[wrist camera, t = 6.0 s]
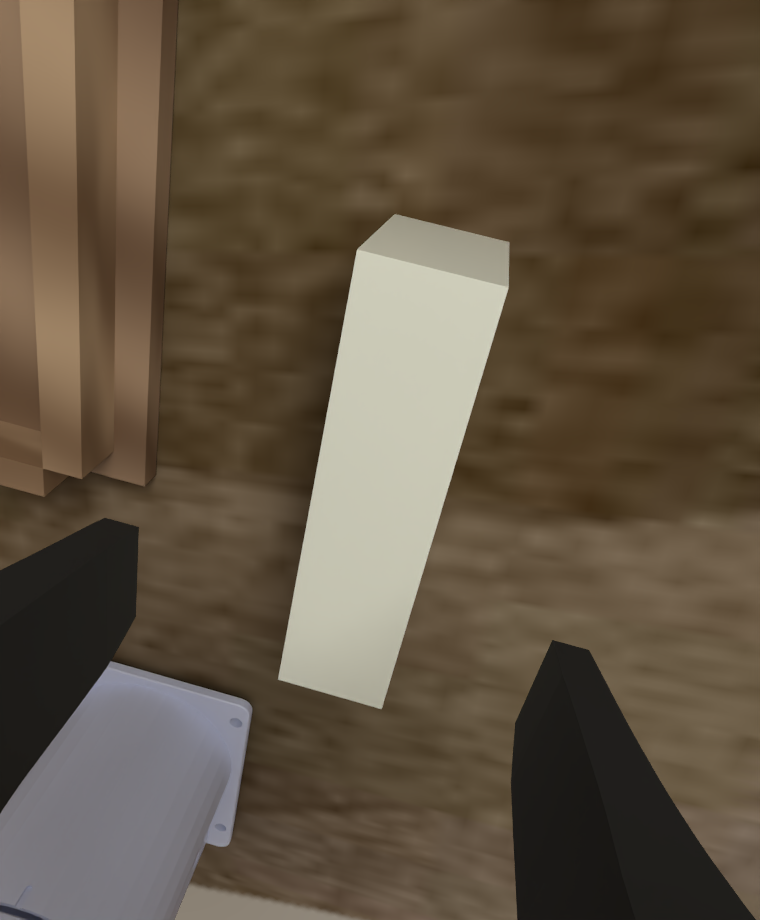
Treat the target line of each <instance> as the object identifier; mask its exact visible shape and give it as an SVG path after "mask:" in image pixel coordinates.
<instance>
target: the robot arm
mask: <svg viewBox="0 0 760 920" xmlns="http://www.w3.org/2000/svg"><path fill="white" fill-rule="evenodd" d="M138 532H139V527H136V526H133V525H129V524H125V523H122V522H118V521H114V520H111V519H107V518H104V519H102V520H100V521H97V522H95V523H93V524H91V525H89V526H87V527H85V528H83V529H81V530H79V531H77V532H75V533H74V534H72V535H70V536H68V537H66V538H64V539H62V540H60V541H58V542H56V543H54V544H52V545H50V546H48V547H46V548H44V549H42V550H41V551H39V552H37V553H35V554H33V555H31V556H29V557H27V558H25V559H22V560H20V561H18V562H16V563H14V564H12V565H10V566H8V567H6V568H4V569H2V570H0V920H175V917H176V914H177V912H178V909H179V907H180V905H181V902H182V900H183V898H184V895H185V892H186V890H187V888H188V885H189V883H190V880H191V878H192V876H193V873H194V871H195V868H196V866H197V863H198V861H199V858H200V856H201V854H202V851H203V849H204V846H205V844H206V843H208V844H212V845H215V846H219V847H225V846H227V845H229V843H230V840H231V838H232V834H233V827H234V821H235V815H236V809H237V803H238V797H239V791H240V785H241V778H242V772H243V766H244V760H245V754H246V748H247V742H248V736H249V730H250V723H251V717H252V711H253V710H252V706H251V705H250V703H249V702H247V701H246V700H244V699H242V698H238V697H235V696H231V695H228V694H224V693H221V692H217V691H214V690H210V689H207V688H203V687H200V686H196V685H193V684H189V683H186V682H182V681H179V680H175V679H172V678H168V677H165V676H161V675H158V674H155V673H151V672H148V671H144V670H141V669H137V668H134V667H130V666H127V665H123V664H120V663H116V662H113V661H111V660H112V658H113V656H114V654H115V653H116V651H117V649H118V648H119V646H120V644H121V642H122V640H123V639H124V637H125V635H126V633H127V631H128V630H129V628H130V626H131V624H132V622H133V620H134V619H135V617H136V593H137V562H138ZM511 793H512V817H513V839H514V859H515V879H516V899H517V919H518V920H756V919H755V918H754V917H753V915H752V914H751V913H750V912H749V910H748V909H747V908H746V906H745V905H744V904H743V902H742V901H741V900H740V898H739V897H738V895H737V894H736V893H735V891H734V890H733V889H732V887H731V886H730V885H729V883H728V882H727V880H726V879H725V878H724V876H723V875H722V874H721V872H720V871H719V870H718V868H717V867H716V865H715V864H714V863H713V861H712V860H711V859H710V857H709V856H708V854H707V853H706V851H705V850H704V848H703V847H702V845H701V844H700V843H699V841H698V840H697V838H696V837H695V835H694V834H693V832H692V831H691V829H690V828H689V826H688V824H687V823H686V821H685V820H684V818H683V817H682V815H681V813H680V812H679V810H678V809H677V807H676V806H675V804H674V803H673V801H672V799H671V798H670V796H669V795H668V793H667V791H666V790H665V788H664V786H663V785H662V783H661V781H660V780H659V778H658V776H657V775H656V773H655V771H654V769H653V768H652V766H651V764H650V762H649V761H648V759H647V757H646V755H645V754H644V752H643V750H642V748H641V747H640V745H639V743H638V741H637V740H636V738H635V736H634V734H633V732H632V731H631V729H630V727H629V725H628V723H627V721H626V720H625V718H624V716H623V714H622V712H621V710H620V708H619V706H618V705H617V703H616V701H615V699H614V697H613V695H612V693H611V691H610V689H609V687H608V685H607V683H606V682H605V680H604V678H603V676H602V674H601V672H600V670H599V668H598V666H597V664H596V662H595V661H594V659H593V657H592V655H591V653H590V651H589V650H587V649H583V648H579V647H576V646H572V645H568V644H565V643H561V642H557V641H554V640H552V642H551V644H550V647H549V649H548V651H547V653H546V656H545V658H544V660H543V662H542V665H541V667H540V669H539V671H538V674H537V676H536V678H535V680H534V682H533V685H532V687H531V689H530V691H529V694H528V696H527V698H526V700H525V703H524V705H523V707H522V709H521V711H520V714H519V716H518V718H517V720H516V723H515V734H514V747H513V760H512V777H511Z"/></svg>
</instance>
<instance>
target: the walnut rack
mask: <svg viewBox="0 0 760 920" xmlns="http://www.w3.org/2000/svg"><path fill="white" fill-rule="evenodd" d="M177 16H178V0H0V485H3V486H7V487H10V488H14V489H18V490H21V491H25V492H28V493H32V494H36V495H39V496H43V497H45V496H46V495H47V494H48V493H49V492H51V491H52V490H53V489H54V488H55V487H56V486H58V485H59V484H60V483H61V482H62V481H64V480H65V479H66V478H67V477H68V476H72V477H76V478H79V479H83V478H84V477H85V476H86V475H87V474H88V473H89V472H93V473H97V474H101V475H104V476H108V477H112V478H115V479H119V480H123V481H126V482H130V483H134V484H137V485H141V486H145V485H146V484H147V483H148V482H149V481H150V480H151V479H152V478H153V477H154V476H155V475H156V462H157V441H158V420H159V399H160V377H161V356H162V335H163V314H164V292H165V271H166V250H167V229H168V207H169V186H170V165H171V144H172V122H173V101H174V80H175V59H176V37H177Z"/></svg>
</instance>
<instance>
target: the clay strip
mask: <svg viewBox="0 0 760 920" xmlns="http://www.w3.org/2000/svg"><path fill="white" fill-rule="evenodd" d="M508 288H509V242H506V241H502V240H498V239H494V238H490V237H486V236H481V235H477V234H473V233H469V232H465V231H461V230H457V229H453V228H449V227H445V226H441V225H437V224H433V223H429V222H425V221H421V220H417V219H412V218H408V217H404V216H400V215H396V214H394V215H393V216H392V217H391V218H390V219H389V220H388V221H387V222H386V223H385V224H384V225H383V226H382V227H381V228H379V229H378V230H377V231H376V232H375V233H374V234H373V235H372V236H371V237H370V238H369V239H368V240H367V241H366V242H365V243H363V244H362V245H361V246H360V247H359V248H358V249H357V253H356V258H355V264H354V269H353V275H352V280H351V285H350V291H349V296H348V302H347V307H346V313H345V318H344V324H343V329H342V334H341V340H340V345H339V351H338V356H337V362H336V367H335V372H334V378H333V383H332V389H331V394H330V400H329V405H328V411H327V416H326V421H325V427H324V432H323V438H322V443H321V449H320V454H319V459H318V465H317V470H316V476H315V481H314V487H313V492H312V498H311V503H310V508H309V514H308V519H307V525H306V530H305V536H304V541H303V547H302V552H301V557H300V563H299V568H298V574H297V579H296V585H295V590H294V595H293V601H292V606H291V612H290V617H289V623H288V628H287V634H286V639H285V644H284V650H283V655H282V661H281V666H280V672H279V677H278V680H282V681H285V682H289V683H292V684H296V685H299V686H303V687H306V688H310V689H313V690H317V691H320V692H324V693H327V694H330V695H334V696H337V697H341V698H344V699H348V700H351V701H355V702H358V703H362V704H365V705H369V706H372V707H376V708H379V709H382V706H383V703H384V699H385V696H386V693H387V690H388V686H389V683H390V680H391V676H392V673H393V670H394V666H395V663H396V660H397V656H398V653H399V650H400V646H401V643H402V640H403V636H404V633H405V630H406V626H407V623H408V620H409V616H410V613H411V610H412V606H413V603H414V600H415V597H416V593H417V590H418V587H419V583H420V580H421V577H422V573H423V570H424V567H425V563H426V560H427V557H428V553H429V550H430V547H431V543H432V540H433V537H434V533H435V530H436V527H437V523H438V520H439V517H440V513H441V510H442V507H443V504H444V500H445V497H446V494H447V490H448V487H449V484H450V480H451V477H452V474H453V470H454V467H455V464H456V460H457V457H458V454H459V450H460V447H461V444H462V440H463V437H464V434H465V430H466V427H467V424H468V420H469V417H470V414H471V410H472V407H473V404H474V401H475V397H476V394H477V391H478V387H479V384H480V381H481V377H482V374H483V371H484V367H485V364H486V361H487V357H488V354H489V351H490V347H491V344H492V341H493V337H494V334H495V331H496V327H497V324H498V321H499V317H500V314H501V311H502V308H503V304H504V301H505V298H506V294H507V291H508Z"/></svg>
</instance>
